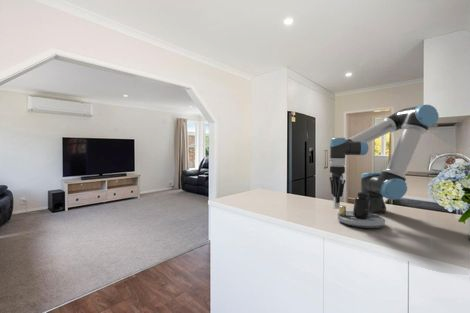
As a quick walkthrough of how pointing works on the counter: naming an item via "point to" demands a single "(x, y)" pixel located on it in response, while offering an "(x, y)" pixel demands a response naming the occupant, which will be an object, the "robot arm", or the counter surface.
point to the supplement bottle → (361, 205)
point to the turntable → (360, 219)
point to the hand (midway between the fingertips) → (336, 208)
